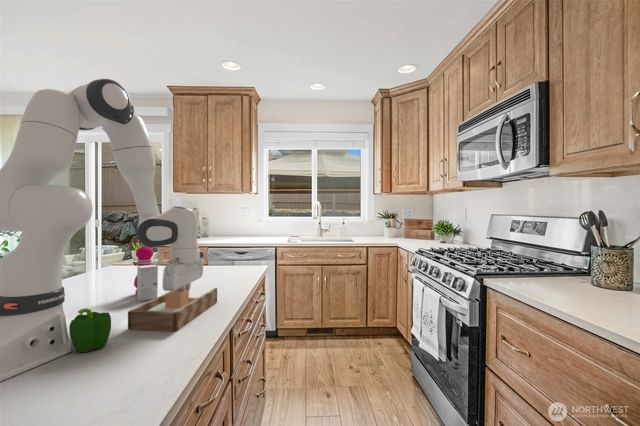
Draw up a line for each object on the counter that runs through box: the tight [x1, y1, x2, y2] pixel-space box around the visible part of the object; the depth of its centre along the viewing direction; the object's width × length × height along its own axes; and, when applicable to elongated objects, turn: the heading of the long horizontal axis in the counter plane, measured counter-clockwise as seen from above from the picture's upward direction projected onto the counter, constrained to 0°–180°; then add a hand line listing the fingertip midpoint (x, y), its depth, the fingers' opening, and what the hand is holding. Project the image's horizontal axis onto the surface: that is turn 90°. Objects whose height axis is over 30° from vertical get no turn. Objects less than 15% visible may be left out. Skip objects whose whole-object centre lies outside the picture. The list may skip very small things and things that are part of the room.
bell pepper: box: [68, 307, 112, 353], centre depth 78 cm, size 8×8×10 cm
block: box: [164, 290, 190, 308], centre depth 103 cm, size 5×5×4 cm
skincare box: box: [136, 264, 159, 302], centre depth 120 cm, size 6×4×12 cm
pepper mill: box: [133, 244, 154, 296], centre depth 126 cm, size 7×7×20 cm
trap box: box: [127, 287, 218, 332], centre depth 103 cm, size 28×14×5 cm, turn 175°
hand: (184, 297), depth 107 cm, fingers closed
